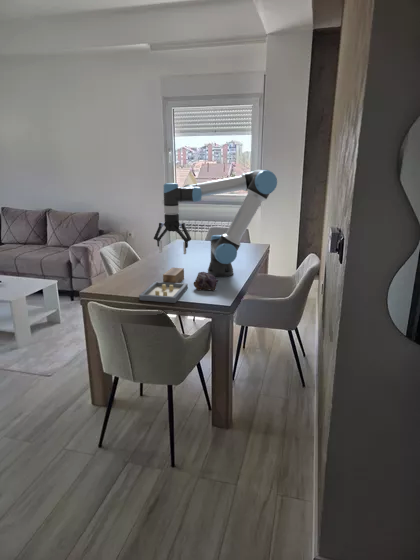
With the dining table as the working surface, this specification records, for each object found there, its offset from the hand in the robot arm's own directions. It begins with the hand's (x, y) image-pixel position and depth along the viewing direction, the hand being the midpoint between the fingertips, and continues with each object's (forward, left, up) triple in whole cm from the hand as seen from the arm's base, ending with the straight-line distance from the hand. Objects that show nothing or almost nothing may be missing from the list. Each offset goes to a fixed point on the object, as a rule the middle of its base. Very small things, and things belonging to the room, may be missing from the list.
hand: (172, 253), depth 205 cm
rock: (-20, +7, -17) cm, 27 cm away
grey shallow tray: (-1, +19, -16) cm, 25 cm away
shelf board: (0, 0, -17) cm, 17 cm away
